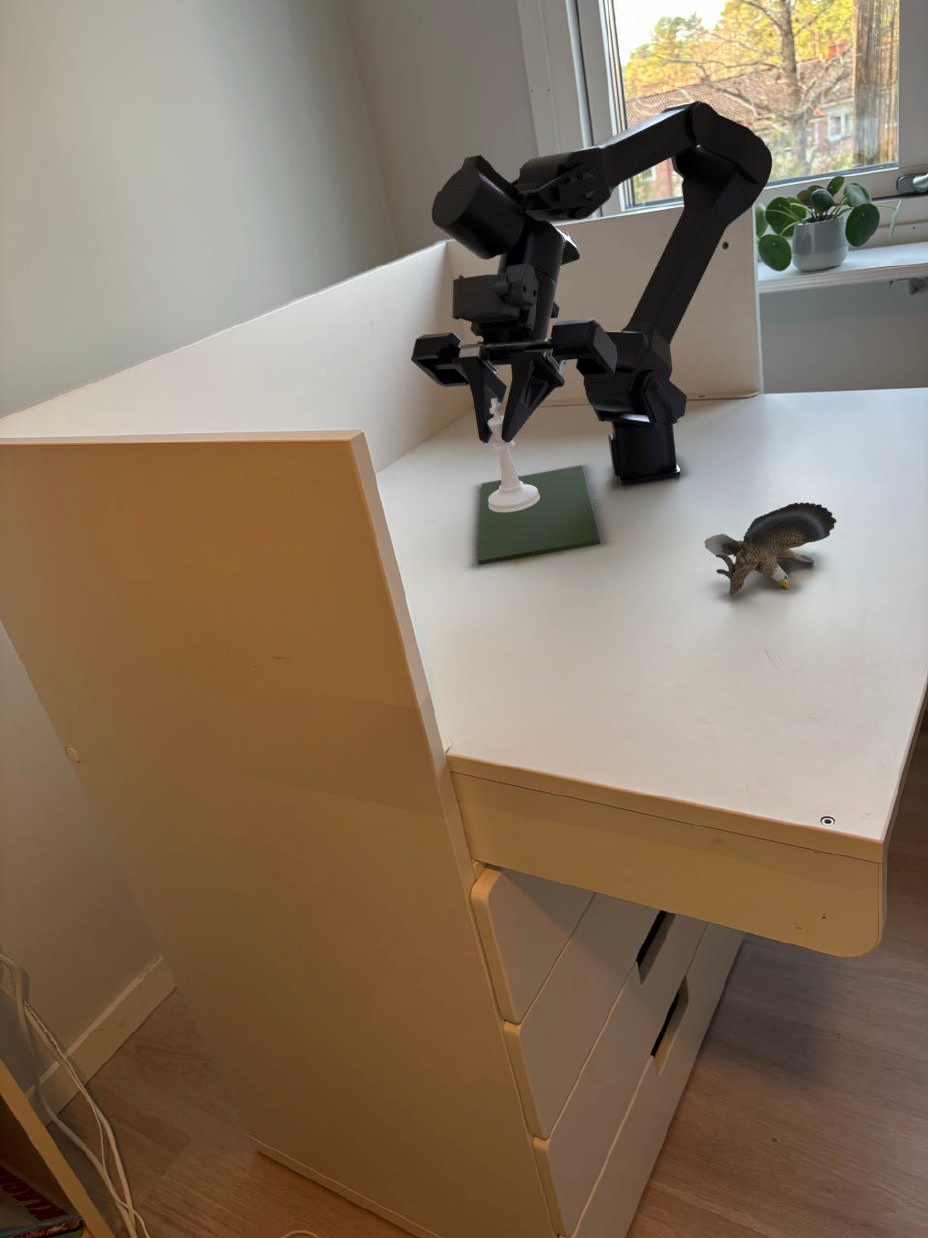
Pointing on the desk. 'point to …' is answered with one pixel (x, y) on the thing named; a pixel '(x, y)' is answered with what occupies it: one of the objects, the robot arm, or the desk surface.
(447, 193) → the robot arm
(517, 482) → the chess piece
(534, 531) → the green board
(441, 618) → the desk surface
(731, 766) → the desk surface
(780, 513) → the eagle figurine
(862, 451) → the desk surface
